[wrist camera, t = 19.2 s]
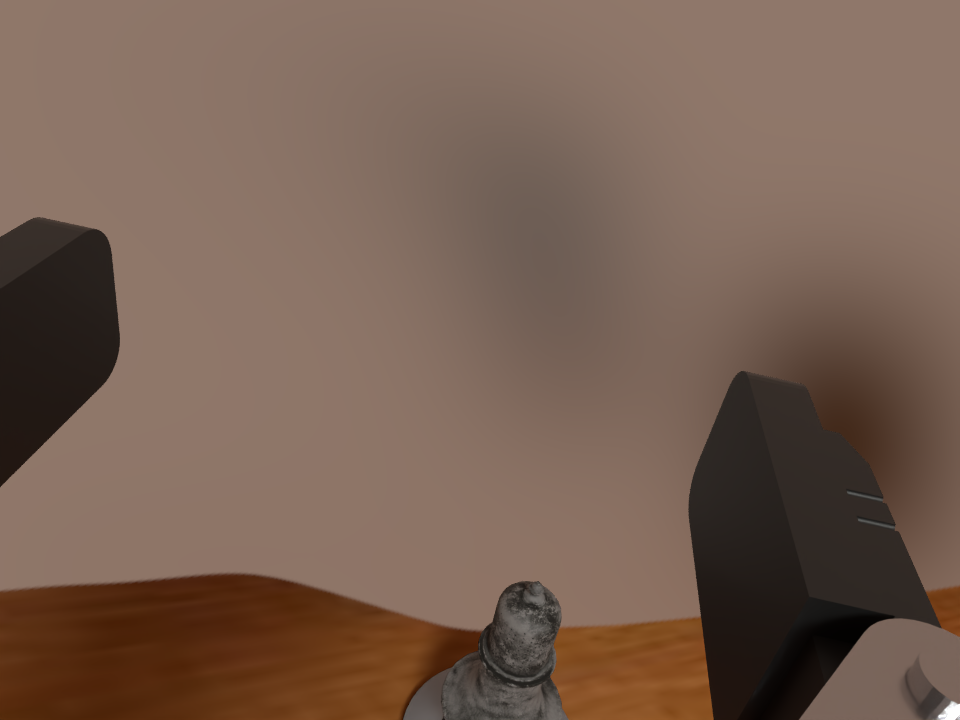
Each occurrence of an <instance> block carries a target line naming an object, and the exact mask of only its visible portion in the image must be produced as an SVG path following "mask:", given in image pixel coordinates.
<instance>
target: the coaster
mask: <svg viewBox="0 0 960 720" xmlns="http://www.w3.org/2000/svg"><path fill="white" fill-rule="evenodd" d="M450 669H451V668H449V669H447V670H444V671H442V672H440V673H439V674H437V675H435V676H434V677H432V678H431V679H430V680H428V681H427V682H426V683H425V684H424V685H423V686H422V687H421V688H420V689H419V690H418V691H417V692H416V694H415V695H414V697H413V698H412V700H411V702H410V703H409V705H408V707H407V709H406V712H405V715H404V718H403V720H442V719H443V716H444V715H443V710H442V705H441V694H442V686H443V683H444V681H445V678H446V676H447V673H448V672H449V671H450ZM562 720H568V718H567V716H566V714H565V713H564V711H563V709H562Z"/></svg>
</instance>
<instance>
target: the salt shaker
mask: <svg viewBox="0 0 960 720" xmlns="http://www.w3.org/2000/svg"><path fill="white" fill-rule="evenodd" d="M560 623H561V607H560V605H559V602H558V600H557V599H556V598H555V596H554V595H553V594H552V593H551V592H550V591H549V590H548V589H547V588H546V587H544V586H542V584H541V583H540V582H539V581H537V582H529V581H525V582H518V583H515V584H512V585H510V586H509V587H507V588H506V589H505V590H504V591H503V593H502V594H501V596H500V598H499V601H498V604H497V607H496V611H495V615H494V618H493V622H492V623H491V624H489V625H488V626H487V627H486V628H485V629H484V630H483V632H482V633H481V636H480V639H479V642H478V651H476V652H473V653H470V654H468V655H466V656H465V657H463V658H462V659H460V660H459V661H457V662H456V663H455V664H454V666H453V667H452V668H451V669H450V671H449V672H448V673H447V676H446V678H445V681H444V683H443V686H442V694H441V705H442V710H443V715H444V716H443V719H442V720H562V703H561V699H560V696H559V693H558V690H557V688H556V686H555V684H554V683H553V681H552V680H551V678H550V676H551V674H552V673H553V671H554V668H555V664H556V652H555V649H554V646H553V644H554V641H555V639H556V636H557V633H558V630H559V627H560Z"/></svg>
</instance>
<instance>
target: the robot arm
mask: <svg viewBox="0 0 960 720" xmlns="http://www.w3.org/2000/svg"><path fill="white" fill-rule="evenodd" d="M119 346H120V333H119V324H118V313H117V304H116V293H115V283H114V273H113V263H112V254H111V248H110V244H109V241H108V239H107V237H106V236H105V234H104V233H102V232H101V231H99V230H97V229H92V228H87V227H83V226H78V225H74V224H69V223H65V222H60V221H55V220H50V219H46V218H40V217H37V218H33V219H31V220H29V221H27V222H25V223H23V224H22V225H20V226H18V227H17V228H15V229H13V230H11V231H10V232H8V233H7V234H5V235H3V236H1V237H0V487H1V486H2V485H3V484H4V483H5V482H6V481H7V480H8V479H9V477H11V475H12V474H14V473H15V471H17V470H18V469H19V468H20V467H21V466H22V465H23V464H24V463H25V462H26V461H27V460H28V459H29V458H30V457H31V456H32V455H33V454H34V453H35V452H36V451H37V450H38V449H39V448H40V447H41V446H42V445H43V444H44V443H45V442H46V441H47V440H48V439H49V438H50V437H51V436H52V435H53V434H54V433H55V432H56V431H57V430H58V429H59V428H60V427H61V426H62V425H63V424H64V423H65V422H66V421H67V420H68V419H69V418H70V417H71V416H72V415H73V414H74V413H75V412H76V411H77V410H78V409H79V408H80V407H81V406H82V405H83V404H84V403H85V402H86V401H87V400H88V399H89V398H90V397H91V396H92V395H93V394H94V393H95V392H96V391H97V390H98V389H99V388H100V387H101V386H102V385H103V384H104V383H105V382H106V381H107V379H108V378H109V376H110V374H111V373H112V371H113V368H114V366H115V363H116V360H117V357H118V352H119ZM882 500H883V495H882V493H881V490H880V488H879V486H878V484H877V481H876V479H875V477H874V475H873V472H872V470H871V468H870V465H869V464H868V463H867V462H866V461H865V460H864V459H863V458H862V456H860V455H859V453H858V452H857V451H856V450H855V449H854V448H853V447H852V446H851V445H850V444H849V443H848V442H847V441H846V440H845V438H844V437H843V436H842V435H841V434H840V433H836V432H832V431H827V430H823V428H822V426H821V423H820V421H819V418H818V416H817V413H816V410H815V407H814V405H813V402H812V400H811V397H810V395H809V392H808V390H807V388H806V386H805V385H803V384H801V383H796V382H791V381H787V380H782V379H778V378H773V377H769V376H764V375H759V374H755V373H750V372H745V371H741V372H739V373H738V374H737V375H736V376H735V378H734V379H733V381H732V383H731V384H730V386H729V389H728V391H727V394H726V396H725V398H724V401H723V403H722V406H721V408H720V410H719V413H718V415H717V418H716V420H715V423H714V425H713V427H712V430H711V432H710V435H709V438H708V439H707V442H706V444H705V447H704V449H703V452H702V454H701V456H700V459H699V461H698V464H697V466H696V469H695V472H694V476H693V480H692V484H691V489H690V495H689V522H690V530H691V538H692V547H693V555H694V562H695V570H696V579H697V587H698V595H699V603H700V612H701V620H702V628H703V636H704V644H705V652H706V660H707V668H708V677H709V685H710V693H711V701H712V709H713V717H714V720H960V637H958V636H956V635H954V634H952V633H950V632H948V631H946V630H944V629H942V628H941V626H940V624H939V621H938V619H937V617H936V614H935V612H934V610H933V608H932V605H931V603H930V601H929V599H928V596H927V594H926V592H925V590H924V587H923V585H922V583H921V581H920V578H919V576H918V574H917V572H916V569H915V567H914V565H913V563H912V560H911V558H910V556H909V554H908V551H907V549H906V547H905V544H904V542H903V540H902V538H901V535H900V533H899V532H898V531H895V522H894V520H893V517H892V515H891V513H890V511H889V508H888V506H887V504H885V503H882Z"/></svg>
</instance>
